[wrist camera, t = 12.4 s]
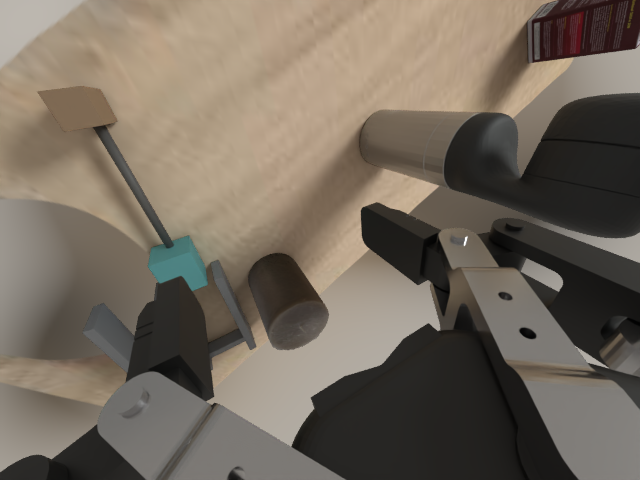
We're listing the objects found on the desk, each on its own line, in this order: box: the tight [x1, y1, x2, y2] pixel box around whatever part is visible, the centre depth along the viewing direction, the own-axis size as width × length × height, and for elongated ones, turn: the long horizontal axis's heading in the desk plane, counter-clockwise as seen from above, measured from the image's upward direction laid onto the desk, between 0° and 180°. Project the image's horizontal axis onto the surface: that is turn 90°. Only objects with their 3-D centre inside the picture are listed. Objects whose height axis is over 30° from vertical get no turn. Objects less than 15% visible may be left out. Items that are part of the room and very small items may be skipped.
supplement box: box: [527, 0, 640, 63], centre depth 43 cm, size 9×5×16 cm, turn 41°
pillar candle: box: [248, 253, 329, 350], centre depth 40 cm, size 10×10×15 cm
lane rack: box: [83, 260, 256, 373], centre depth 39 cm, size 17×18×5 cm
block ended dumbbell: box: [38, 86, 208, 291], centre depth 29 cm, size 5×24×6 cm, turn 9°
